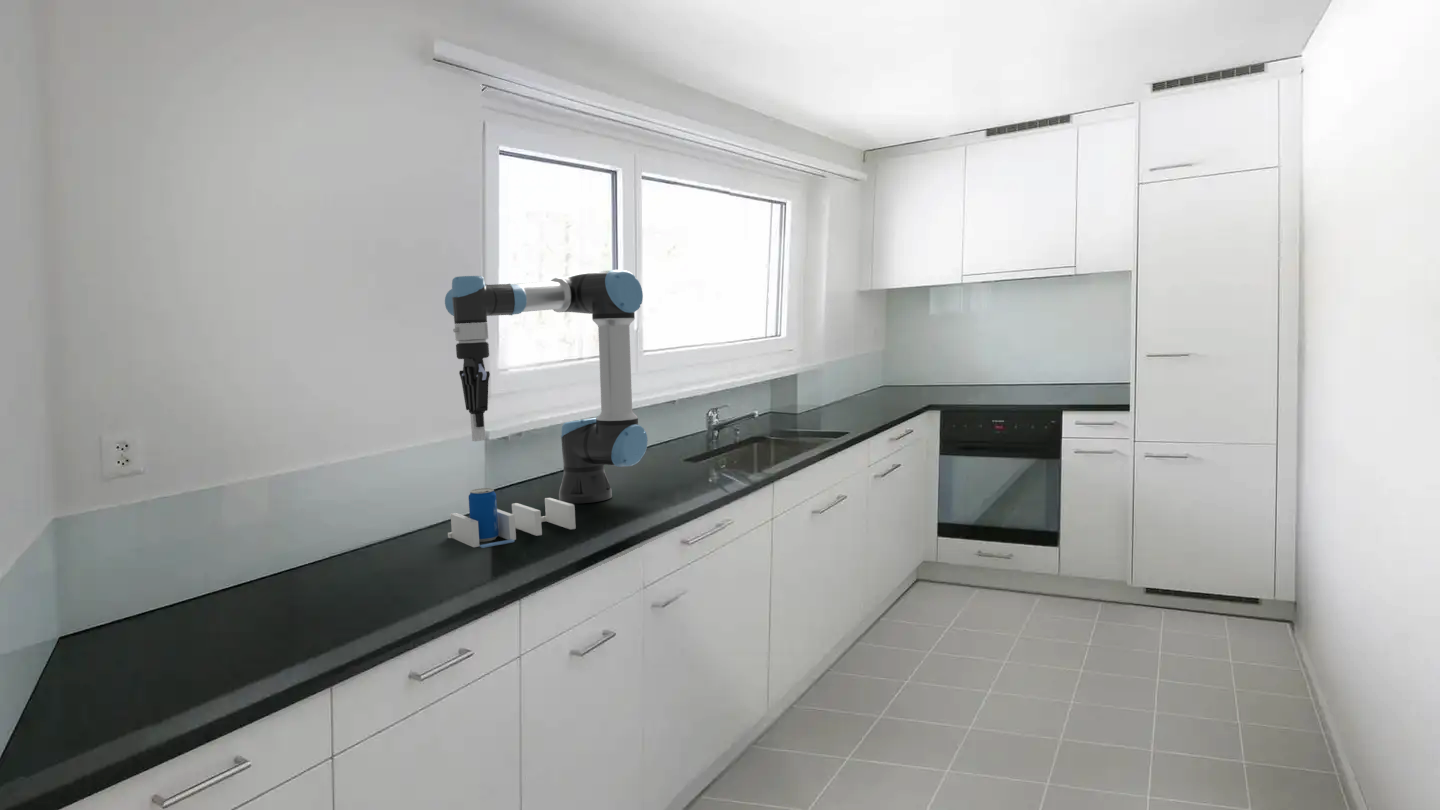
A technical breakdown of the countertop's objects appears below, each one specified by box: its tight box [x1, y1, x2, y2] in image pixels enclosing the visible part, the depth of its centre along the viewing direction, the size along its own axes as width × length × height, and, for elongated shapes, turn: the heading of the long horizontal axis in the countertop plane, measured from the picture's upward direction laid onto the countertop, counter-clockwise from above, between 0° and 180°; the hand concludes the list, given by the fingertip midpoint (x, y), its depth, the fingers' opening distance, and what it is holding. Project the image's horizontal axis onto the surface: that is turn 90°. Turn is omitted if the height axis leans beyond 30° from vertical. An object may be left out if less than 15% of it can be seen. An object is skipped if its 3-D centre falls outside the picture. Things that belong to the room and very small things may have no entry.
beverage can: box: [468, 487, 499, 543], centre depth 234 cm, size 6×6×12 cm
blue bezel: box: [479, 539, 515, 549], centre depth 228 cm, size 8×2×1 cm, turn 126°
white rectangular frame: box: [447, 497, 577, 548], centre depth 239 cm, size 28×14×6 cm, turn 126°
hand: (478, 440), depth 232 cm, fingers closed
